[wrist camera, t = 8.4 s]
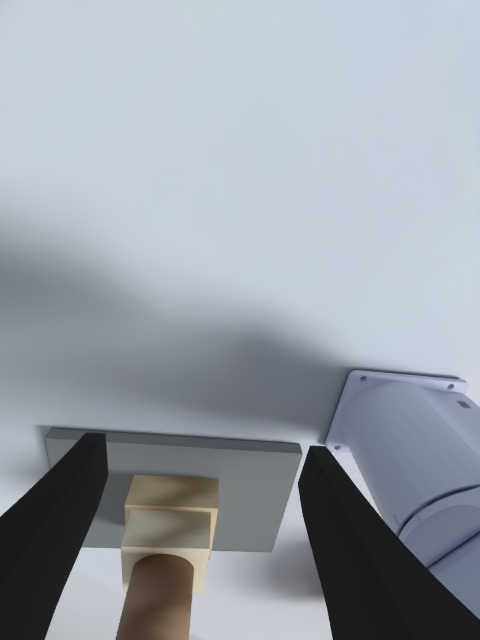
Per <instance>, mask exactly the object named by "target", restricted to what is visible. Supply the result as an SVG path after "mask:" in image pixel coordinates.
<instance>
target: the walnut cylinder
mask: <svg viewBox="0 0 480 640" xmlns="http://www.w3.org/2000/svg"><path fill="white" fill-rule="evenodd" d="M193 578H194V567H193V565H192V564H191V563H190V562H189V561H188V560H186V559H185V558H182V557H180V556H177V555H172V554H154V555H149V556H146V557H144V558H142V559H140V560H139V561H137V562H136V563H135V565H134V566H133V569H132V573H131V578H130V582H129V586H128V590H127V594H126V598H125V602H124V607H123V611H122V615H121V619H120V623H119V627H118V631H117V636H116V640H189V627H190V615H191V603H192V590H193Z"/></svg>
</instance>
